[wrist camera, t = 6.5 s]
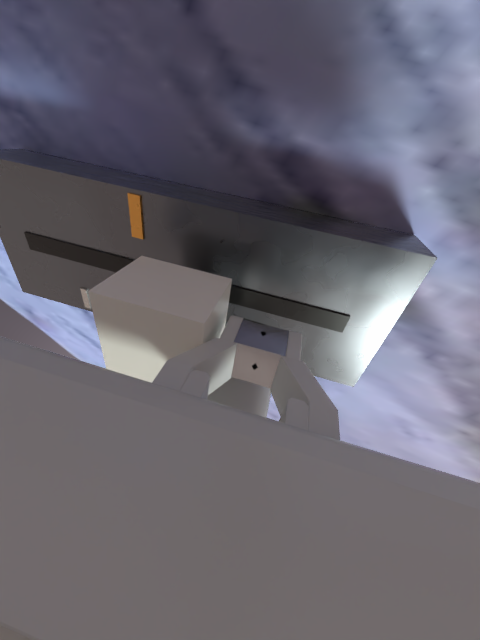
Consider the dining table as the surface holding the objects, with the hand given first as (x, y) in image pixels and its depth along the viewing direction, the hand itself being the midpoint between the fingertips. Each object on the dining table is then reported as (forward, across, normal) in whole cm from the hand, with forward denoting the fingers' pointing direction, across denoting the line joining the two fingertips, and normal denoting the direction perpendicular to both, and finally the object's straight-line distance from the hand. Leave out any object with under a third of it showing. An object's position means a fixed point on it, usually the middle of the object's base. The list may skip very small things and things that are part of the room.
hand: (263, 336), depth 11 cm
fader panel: (+6, +5, 0) cm, 8 cm away
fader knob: (+3, +4, 0) cm, 5 cm away
